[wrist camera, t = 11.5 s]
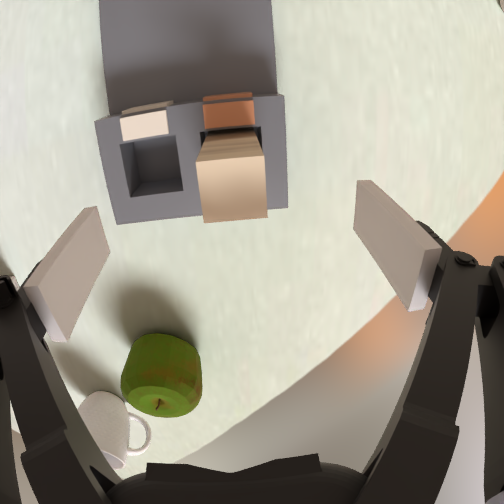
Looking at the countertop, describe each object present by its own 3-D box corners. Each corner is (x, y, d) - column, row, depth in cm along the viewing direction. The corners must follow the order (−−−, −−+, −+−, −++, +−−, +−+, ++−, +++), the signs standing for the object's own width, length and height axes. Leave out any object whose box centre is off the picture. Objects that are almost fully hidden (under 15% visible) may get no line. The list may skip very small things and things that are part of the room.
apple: (134, 367, 47) (121, 423, 37) (127, 319, 41) (108, 381, 32) (202, 375, 48) (199, 434, 39) (206, 329, 43) (203, 394, 33)
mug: (155, 395, 51) (146, 459, 40) (154, 422, 56) (148, 478, 45) (77, 377, 48) (58, 437, 37) (86, 407, 54) (72, 459, 43)
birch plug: (209, 129, 28) (195, 162, 18) (252, 125, 28) (264, 155, 18) (213, 169, 30) (204, 223, 20) (254, 165, 30) (267, 217, 20)
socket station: (102, -18, 20) (80, -31, 15) (265, -44, 20) (272, -65, 15) (133, 211, 33) (118, 235, 29) (280, 197, 34) (288, 219, 29)
